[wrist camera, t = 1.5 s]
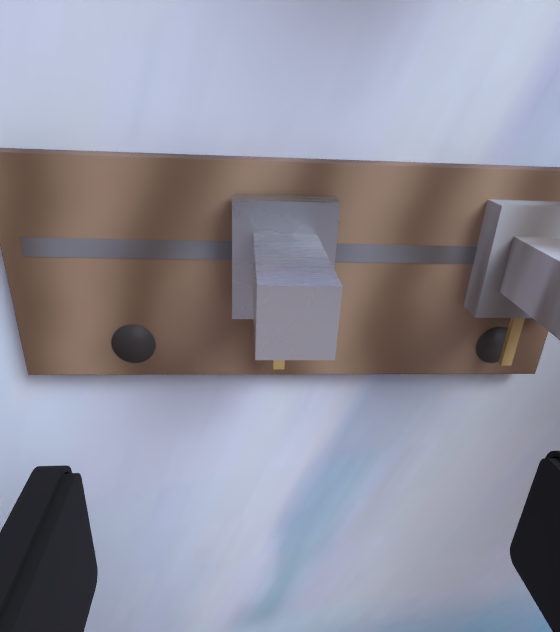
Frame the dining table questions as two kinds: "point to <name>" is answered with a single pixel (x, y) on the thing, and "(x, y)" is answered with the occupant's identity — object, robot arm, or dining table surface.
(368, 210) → the wooden board with posts
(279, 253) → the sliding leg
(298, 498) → the dining table surface
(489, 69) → the dining table surface
